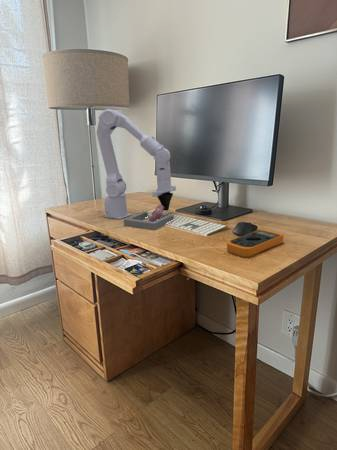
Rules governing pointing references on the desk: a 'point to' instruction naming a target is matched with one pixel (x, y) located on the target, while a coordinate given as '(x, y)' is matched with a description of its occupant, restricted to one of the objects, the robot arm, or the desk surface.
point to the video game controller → (157, 213)
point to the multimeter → (254, 242)
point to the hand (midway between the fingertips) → (165, 210)
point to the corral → (140, 223)
